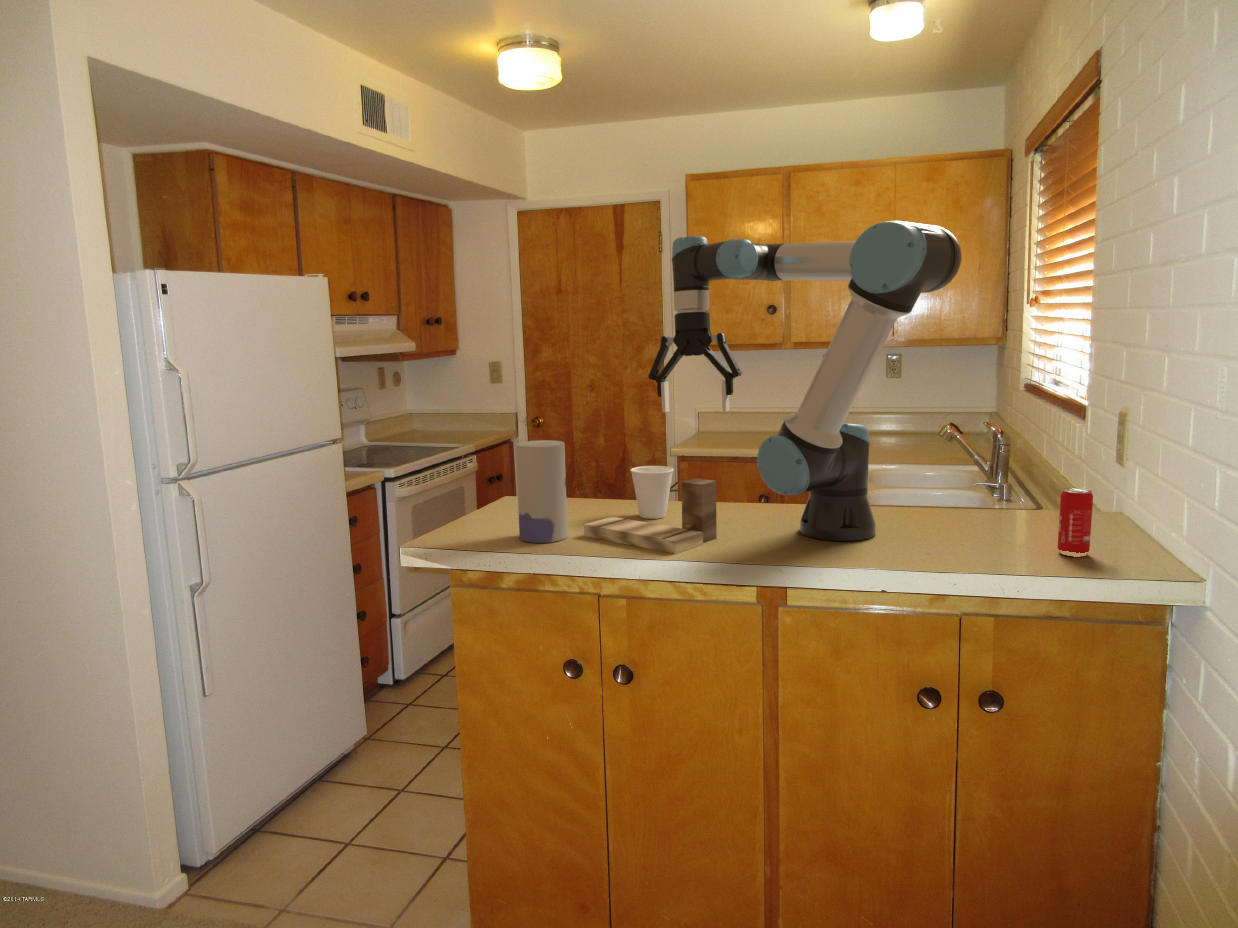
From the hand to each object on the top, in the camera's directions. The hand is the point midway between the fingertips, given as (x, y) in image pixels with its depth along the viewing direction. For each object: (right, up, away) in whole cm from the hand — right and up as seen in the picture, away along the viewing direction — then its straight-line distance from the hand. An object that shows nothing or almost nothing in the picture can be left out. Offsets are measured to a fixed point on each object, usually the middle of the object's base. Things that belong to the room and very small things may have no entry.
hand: (695, 411), depth 184 cm
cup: (-9, -24, +11) cm, 28 cm away
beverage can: (+67, -28, -28) cm, 78 cm away
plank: (-12, -27, -10) cm, 31 cm away
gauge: (0, -27, -10) cm, 29 cm away
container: (-32, -27, -6) cm, 43 cm away
